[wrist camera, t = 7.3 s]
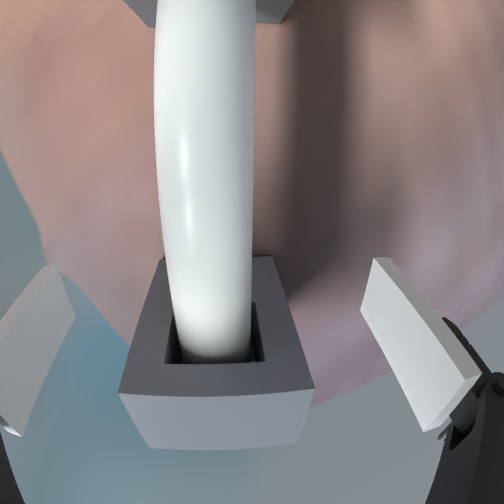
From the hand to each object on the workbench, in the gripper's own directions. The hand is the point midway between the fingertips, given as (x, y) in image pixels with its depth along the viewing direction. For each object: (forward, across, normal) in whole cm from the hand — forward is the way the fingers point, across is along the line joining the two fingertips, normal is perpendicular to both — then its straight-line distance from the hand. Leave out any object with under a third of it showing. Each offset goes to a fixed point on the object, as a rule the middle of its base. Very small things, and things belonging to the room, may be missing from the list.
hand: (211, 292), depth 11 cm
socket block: (+11, 0, -8) cm, 13 cm away
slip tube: (+5, 0, +5) cm, 7 cm away
